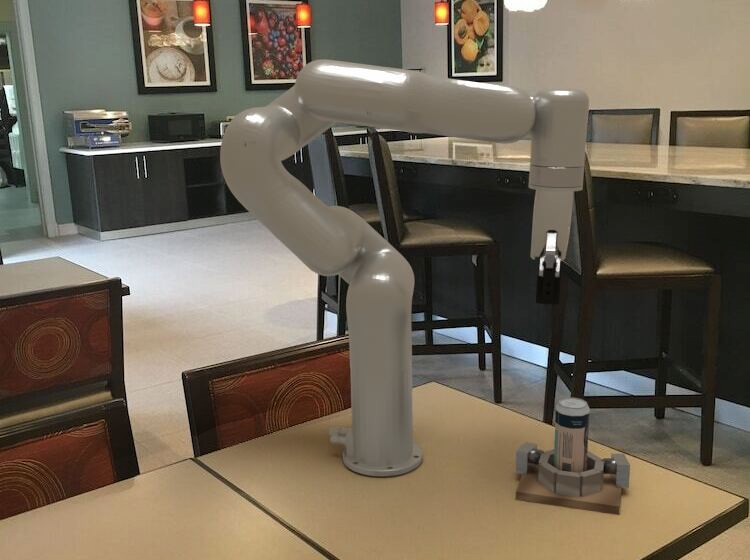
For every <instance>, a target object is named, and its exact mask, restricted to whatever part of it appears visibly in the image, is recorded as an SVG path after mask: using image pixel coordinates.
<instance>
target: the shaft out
mask: <svg viewBox="0 0 750 560" xmlns="http://www.w3.org/2000/svg"><path fill="white" fill-rule="evenodd" d="M625 454H626V453H611V454H610V457H611V458H610V457H608V458H607V457H605V458H604V457H603V458H602V459H603V461H604V474H610V476H611V478H612V480H613V482H614V485H615V487H616V488H621V489H622V488H623V489H624V488H626V489H628V488H630V475H631V474H630V472H631V464H630V462H629V460H628V458H627V457H626V455H625Z"/></svg>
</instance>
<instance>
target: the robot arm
mask: <svg viewBox="0 0 750 560" xmlns="http://www.w3.org/2000/svg"><path fill="white" fill-rule="evenodd" d="M589 104H590V99H589V95H588V93H587V92H585V91H584V90H581V89H578V88H577V89H576V88H547V89H545V88H544V89H541V90H531V89H522V88H518V87H517V86H516V87H515V86H511V85H503V84H494V83H486V82H478V81H477V82H476V81H469V80H465V79H464V80H462V79H455V78H449V77H442V76H441V77H440V76H436V75H433V74H428V73H425V72H423V71H418V70H411V69H407V68H405V69H404V68H397V67H396V68H395V67H388V66H381V65H380V66H379V65H372V64H365V63H356V62H349V61H342V60H341V61H340V60H334V59H322V58H321V59H315V60H313V61H310V62H308V63H307V64H305V65H304V66H303V67H302V68H301V70H300V71H298V74H297V77H296V79H295V83H294V84H293V86H292V87H290V88H289V89H288V90H286V91H285V92H284V93H282V94H281V95H280V96H278V97H277V98H275V99H274V100H273V101H271V102H270V103H269V104H267V105H265V106H258V107H251V108H248V109H247V108H246V109H244V110H243V111H241V112H240V113H238V114H237V115H235V116H234V117H233V118H232V119H231V120H230V122H229V124H227V126H226V128H225V130H224V133H223V135H222V139H221V143H220V144H221V145H220V151H219V152H220V153H219V154H220V155H219V157H220V160H219V161H220V168H221V172H222V176H223V178H224V181H225V183H226V186H227V187H228V189H229V191H230V193H232V195H233V196H234V198H236V200H237V202H239V203H240V204H241V205H242V206H243V207H244V208H245V210H246V211H248V212H249V213H250V214H251V215H252V216H253V217H254V218H255V219H257V220H258V221H259V222H260V223H261V224H262V225H263V226H264V227H266V229H267V230H268V231H269V232H270V233H271V234H272V235H273V236H274V237H275V238H276V239H277V240H279V242H280V243H282V245H284V246H285V248H287V249H288V250H289V251H290V252H291V253H293V254H294V255H295V256H296V258H298V259H299V260H300V262H302V263H303V264H304V265H305V266H306V267H307V268H308V269H309V270H310V271H312V272H314V273H315V274H317V275H320V276H323V277H333V276H338V275H339V277H340V278H341V279H343V280H344V281H345V282H346V283H347V284H348V288H347V292H346V303H345V311H346V321H347V329H348V330H347V331H348V341H349V343H348V345H349V367H350V368H349V369H350V371H349V372H350V400H351V401H350V402H351V403H350V405H351V409H350V410H351V426H349V427H346V428H345V427H342V426H337V425H335V426H333V425H331V426H330V427H329V429H328V436H329V438H330V439H329V441H330V444H332V445H333V444H334V445H343V446H344V450H343V452H342V462H343V464H344V465H345V466H346V467H347V468H348V469H349V470H351V471H353V472H356V474H360V475H364V476H370V477H380V478H381V477H394V476H399V475H403V474H406V473H409V472H411V471H413V470H415V469H416V468H418V467H419V466H420V465H421V463H422V462H423V459H424V456H423V454H424V452H423V449H422V447H420V445H419V444H417V443H416V442H415V441H414V439H413V438H414V437H413V436H414V435H413V434H414V431H413V430H414V429H413V427H414V426H413V420H414V419H413V414H414V412H413V349H412V348H413V346H412V344H413V342H412V341H413V338H412V337H413V336H412V335H413V334H412V333H413V331H412V308H413V307H412V306H413V305H412V301H413V296H414V288H415V274H414V271H413V269H412V268H413V267H412V266H411V265H410V263H409V261H407V259H406V258H405V257H404V256H403V254H402V253H400V252H399V251H398V250H397V249H396V248H395V247H394V246H393V245H391V243H390V242H389V241H387V240H386V239H385V238H384V237H383V236H382V235H381V234H380V233H379V232H378V231H377V230H375V229H374V228H373V227H372V225H370V224H369V223H368V222H367V221H365V219H364V218H362V217H361V216H360V215H359V214H358V213H356V212H354V211H353V210H351V209H350V208H347V207H345V206H339V205H329V206H328V205H326V204H325V203H324V202H323V201H322V200H321V199H320V198H318V197H317V196H316V195H315V194H314V193H313V192H312V191H311V190H310V189H309V188H308V187H307V186H306V185H305V184H304V183H302V182H301V181H300V180H299V179H298V178H296V177H295V176H294V175H292V174H291V173H290V172H289V171H288V170H287V169H286V168H285V166H284V165H283V163H282V161H285V160H287V159H289V158H291V156H293V155H295V154H296V153H298V152H299V151H300V150H301V149H302V148H304V147H305V146H307V145H308V144H310V143H311V142H312V141H313V140H315V139H316V138H318V137H319V136H320V135H322V134H323V133H324V132H327V130H328V129H331V127H333V126H334V125H335V124H336V123H341V124H348V125H357V126H363V127H364V126H365V127H371V128H378V129H385V130H391V131H399V132H406V133H411V134H429V135H430V134H431V135H438V136H445V137H449V138H450V137H452V138H459V139H466V140H472V141H473V140H474V141H479V142H480V141H481V142H488V143H493V144H494V143H495V144H503V145H505V144H513V143H517V142H519V141H521V140H522V139H524V138H527V139H528V138H530V141H531V142H530V144H531V145H530V155H529V157H530V158H529V159H530V160H529V175H528V188H529V189H532V190H535V195H534V204H533V214H532V230H531V242H530V243H531V245H530V255H529V256H530V258H531V259H532V260H536V258H539V257H540V258H539V270H538V272H539V273H538V274H537V276H536V277H537V278H536V280H537V281H536V293H535V302H536V304H543V305H555V306H557V305H559V303H560V296H561V295H560V294H561V281H562V280H561V279H562V277H561V275H562V264H563V263H562V261H564V260H565V259H566V256H567V251H568V246H569V245H568V244H569V239H570V235H571V234H570V233H571V225H572V224H571V223H572V217H573V216H572V215H573V206H574V205H573V202H574V192H579V191H583V190H584V189H583V188H584V177H585V176H584V173H585V159H586V146H587V137H588V135H587V134H588V119H589V109H590V108H589V107H590V105H589Z"/></svg>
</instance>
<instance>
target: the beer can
mask: <svg viewBox="0 0 750 560" xmlns="http://www.w3.org/2000/svg"><path fill="white" fill-rule="evenodd" d="M590 413H591V408H590V406H589V405H588V402H587V401H586V400H584V399H582V398H577V397H563V398H561V399H559V401H558V402H557V404H556V406H555V418H554V419H555V420H554V446H553V448H554V467H555V468H556V469H558V470H560V471H567V472H575V473H581V472H585V471H587V454H588V451H589V431H590V429H589V428H590Z"/></svg>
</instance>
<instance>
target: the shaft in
mask: <svg viewBox="0 0 750 560" xmlns="http://www.w3.org/2000/svg"><path fill="white" fill-rule="evenodd" d="M543 452H545V451H544V450H542V449H538V443H533V442H531V441H530V442H529V441H525V442H524V443H523V444H521V446H520V447H518V448H517V449H516V450H515V473H517V474H520V475H522V474H524V475H528V474H529V473H530V472H531V471H532V470H533V469H534V468H535V467H536V466H537V465H539V460H540V457H541V454H542V453H543Z"/></svg>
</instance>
